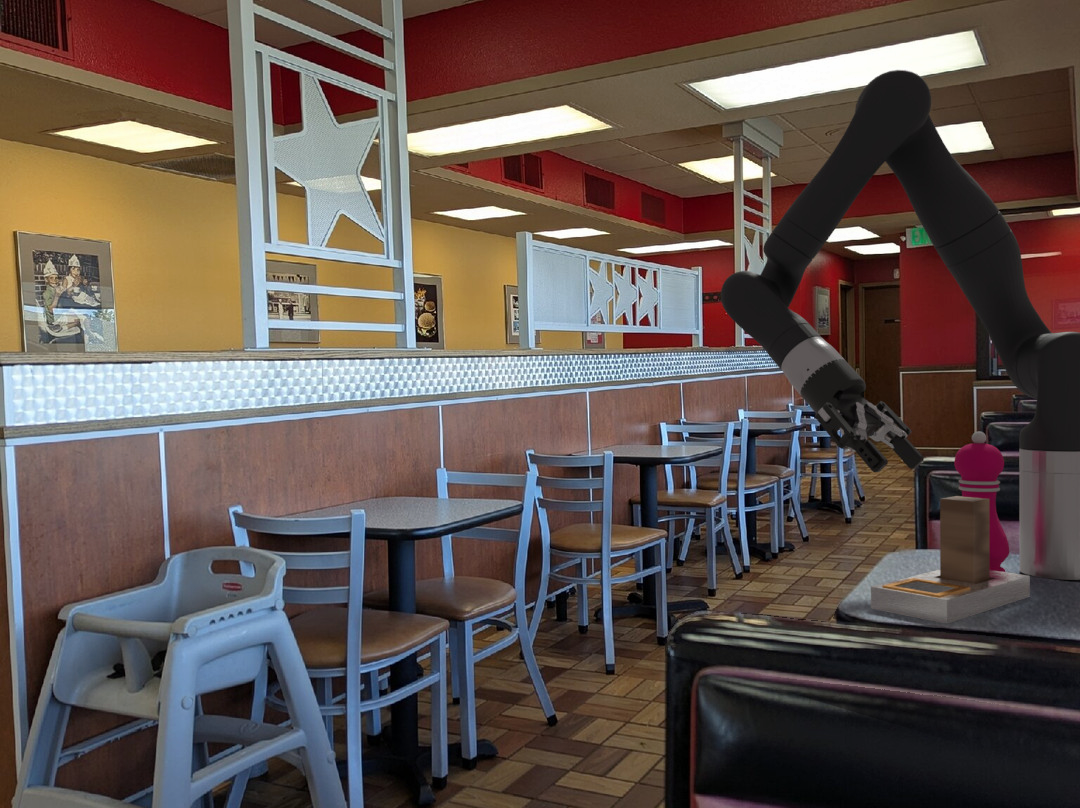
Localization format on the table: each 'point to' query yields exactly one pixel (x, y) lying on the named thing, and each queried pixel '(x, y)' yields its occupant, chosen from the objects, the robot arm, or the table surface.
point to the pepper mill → (984, 489)
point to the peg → (964, 539)
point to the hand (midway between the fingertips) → (900, 466)
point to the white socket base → (948, 595)
